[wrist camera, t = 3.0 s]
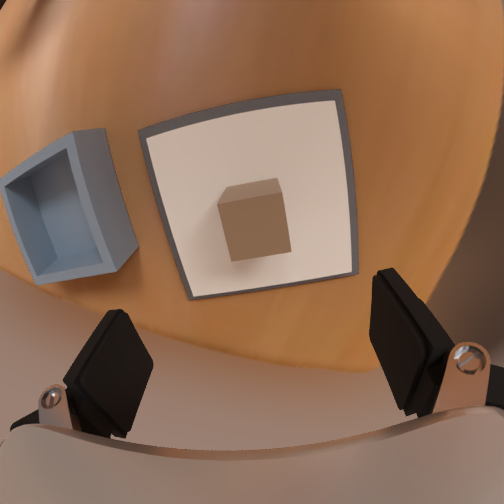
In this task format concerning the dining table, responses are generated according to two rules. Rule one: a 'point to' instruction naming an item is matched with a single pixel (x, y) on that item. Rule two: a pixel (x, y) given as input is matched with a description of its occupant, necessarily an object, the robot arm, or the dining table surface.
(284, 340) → the dining table surface
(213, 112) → the mat
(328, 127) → the lid
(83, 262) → the dish
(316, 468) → the robot arm
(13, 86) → the dining table surface
